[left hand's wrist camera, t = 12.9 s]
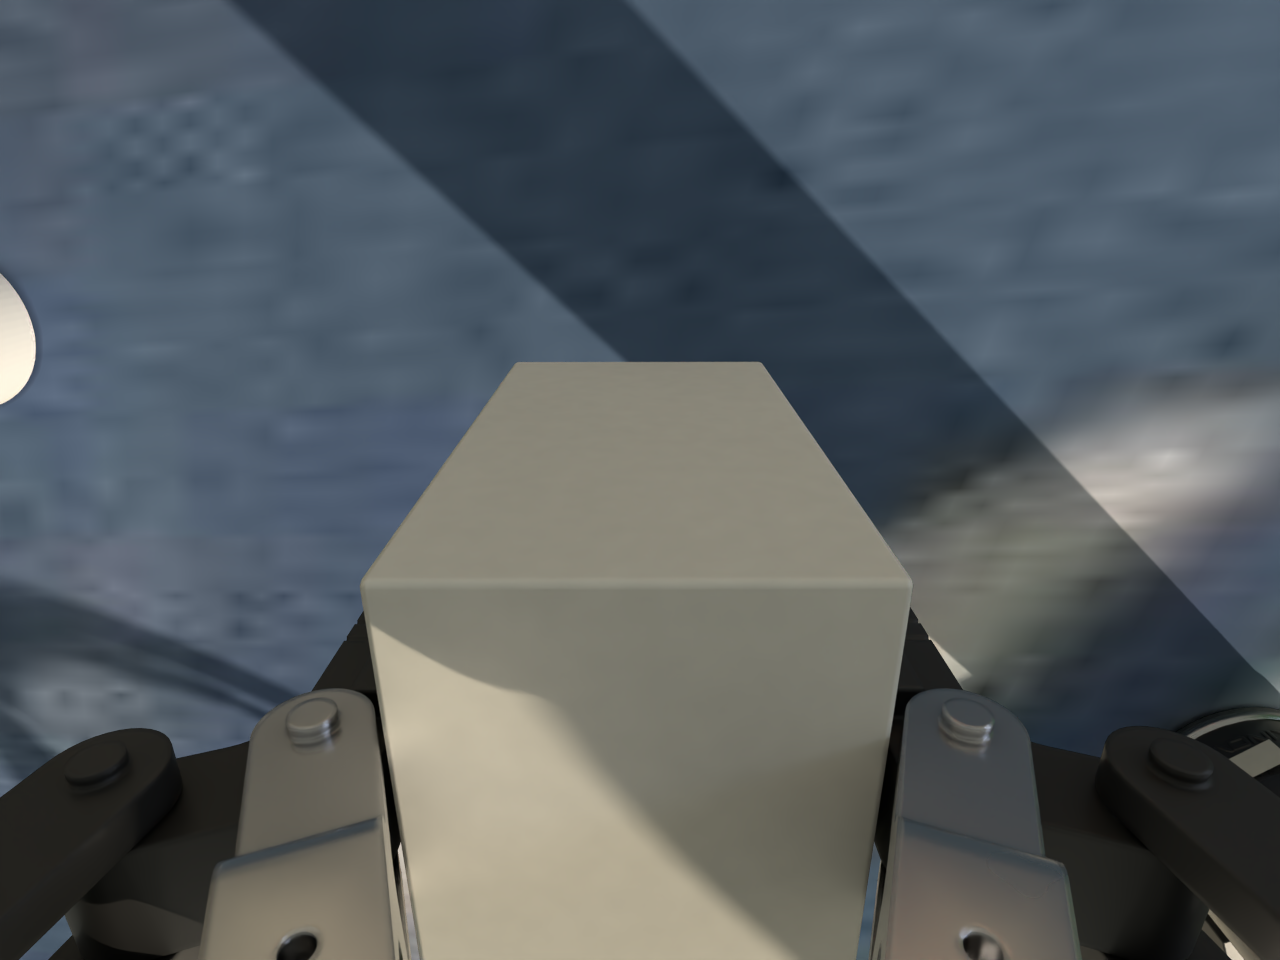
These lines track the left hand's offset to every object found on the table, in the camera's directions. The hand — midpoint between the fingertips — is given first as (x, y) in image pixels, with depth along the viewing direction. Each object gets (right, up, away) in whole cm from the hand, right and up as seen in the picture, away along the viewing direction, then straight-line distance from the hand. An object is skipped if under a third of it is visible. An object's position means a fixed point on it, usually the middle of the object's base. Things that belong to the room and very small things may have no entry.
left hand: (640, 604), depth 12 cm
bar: (0, -7, +8) cm, 11 cm away
